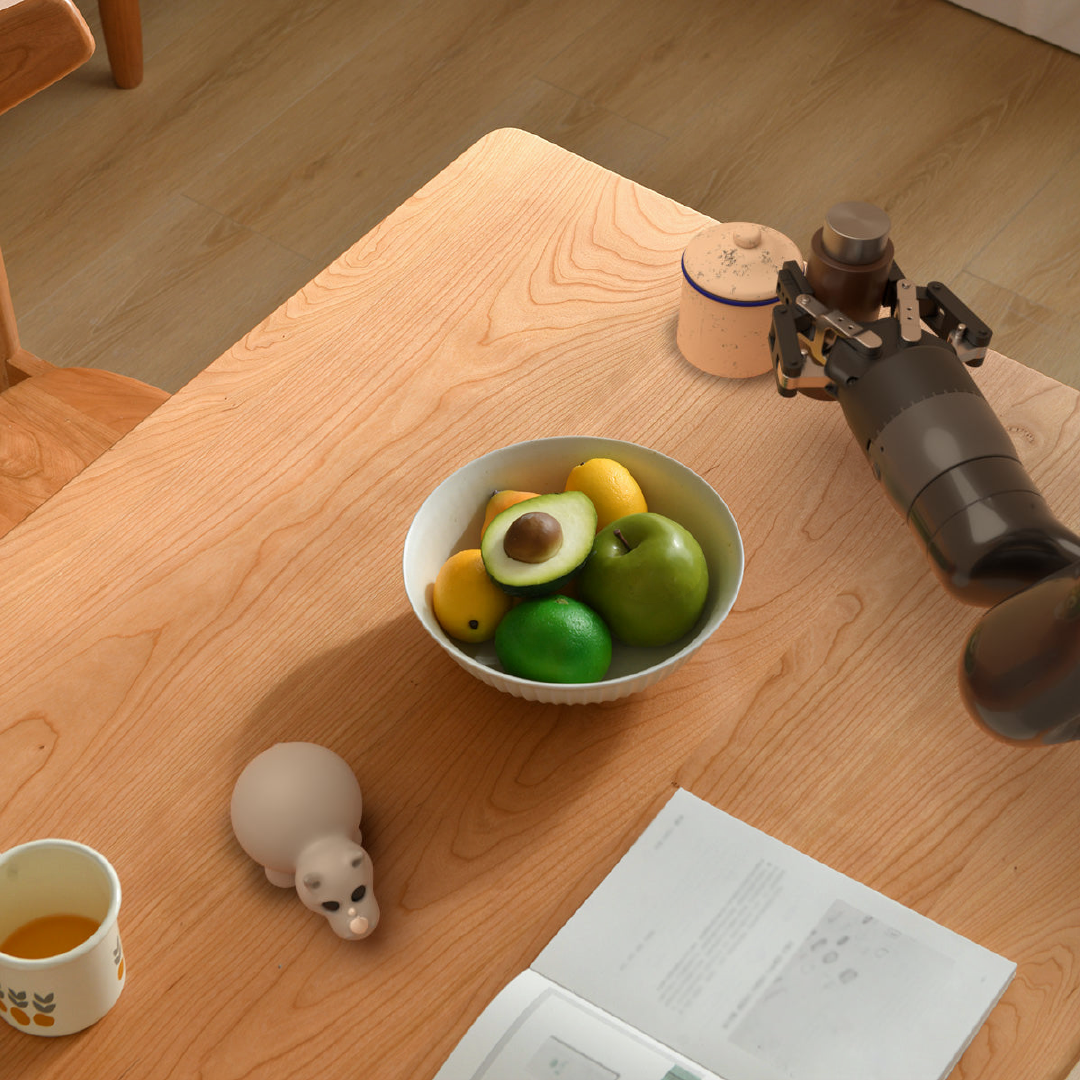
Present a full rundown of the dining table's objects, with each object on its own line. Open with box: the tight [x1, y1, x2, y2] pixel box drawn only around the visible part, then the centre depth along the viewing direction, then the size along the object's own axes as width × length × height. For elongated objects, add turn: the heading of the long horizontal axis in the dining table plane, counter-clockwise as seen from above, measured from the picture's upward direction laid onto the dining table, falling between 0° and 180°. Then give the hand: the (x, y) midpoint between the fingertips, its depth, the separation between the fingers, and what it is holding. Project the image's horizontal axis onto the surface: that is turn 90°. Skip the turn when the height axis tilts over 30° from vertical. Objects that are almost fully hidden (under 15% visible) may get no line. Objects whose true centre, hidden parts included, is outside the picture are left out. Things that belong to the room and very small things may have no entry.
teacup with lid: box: [676, 221, 806, 379], centre depth 103 cm, size 12×9×12 cm
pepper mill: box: [797, 200, 896, 402], centre depth 89 cm, size 5×5×13 cm
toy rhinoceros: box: [229, 741, 381, 941], centre depth 74 cm, size 7×12×8 cm, turn 29°
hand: (828, 265), depth 89 cm, fingers closed on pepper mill, 5 cm apart
